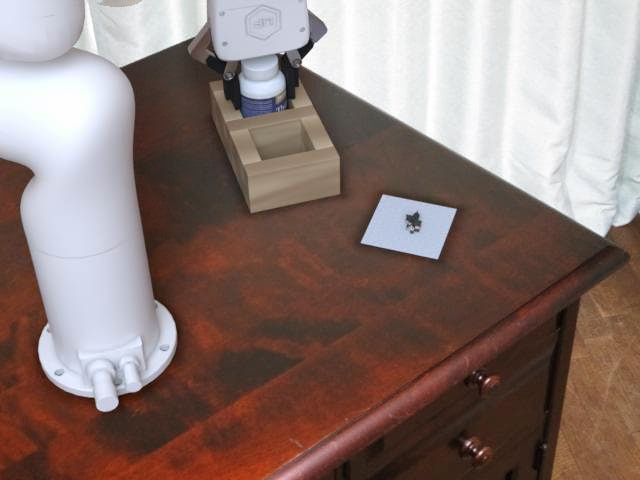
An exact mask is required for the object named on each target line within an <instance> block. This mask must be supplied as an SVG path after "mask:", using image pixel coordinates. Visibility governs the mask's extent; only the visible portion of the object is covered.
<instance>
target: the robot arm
mask: <svg viewBox="0 0 640 480" xmlns="http://www.w3.org/2000/svg"><path fill="white" fill-rule="evenodd" d="M85 2H86V1H85V0H0V158H1V159H2V160H5V161H9V162H12V163H16V164H18V165H23V166H25V167H26V168H28V169H29V170H30V171H32V173H33V174H34V175H33V176H32V178H31V179H29V182H28V183H27V185H26V186H25V188H24V190H23V192H22V195H21V197H20V204H19V205H20V206H19V207H20V209H19V210H20V211H19V212H20V219H21V223H22V227H23V232H24V235H25V238H26V241H27V246H28V249H29V253H30V257H31V261H32V265H33V268H34V272H35V276H36V280H37V285H38V289H39V292H40V295H41V300H42V303H43V307H44V311H45V315H46V319H47V322H46V325H44V327H43V329H42V331H41V334H40V337H39V340H38V348H37V352H38V359H39V363H40V365H41V368H42V371H43V372H44V374H45V376H46V377H47V379H48V380H49V381H50V382H51V383H53V384H54V385H55V386H56V387H58V389H59V388H60V389H61V390H63V391H64V392H66V393H69V394H72V395H75V396H79V397H84V398H89V399H90V398H93V399H94V402H95V407H96V409H97V410H98V411H100V412H103V413H107V412H111V411H113V410H115V409H116V408H117V407H118V406H119V396H122V395H125V394H129V393H137V392H139V391H140V390H141V389H142V388H143V387H145V386H146V385H148V384H149V383H151V382H154V381H155V380H156V379H157V378H158V377H159V376H160V375H161V374H162V373H164V371H166V369H167V368H168V367H169V365H170V364H171V362H172V360H173V358H174V356H175V355H176V352H177V351H176V350H177V347H178V332H177V326H176V322H175V320H174V317H173V315H172V314H171V313H170V311H169V310H168V308H167V307H166V306H164V305H163V304H162V303H161V302H160V301H158V300H157V299H155V296H154V291H153V283H152V278H151V272H150V266H149V259H148V254H147V248H146V243H145V242H146V241H145V235H144V230H143V225H142V224H143V223H142V217H141V212H140V206H139V200H138V195H137V188H136V186H137V185H136V179H135V170H134V169H135V168H134V133H135V120H136V100H135V92H134V89H133V86H132V83H131V82H130V80H129V78H128V76H127V75H126V74H125V72H124V71H123V70H122V69H121V68H120V67H119V66H117V65H116V64H115V63H113V62H112V61H111V60H109V59H107V58H106V57H103V56H101V55H99V54H96V53H93V52H91V51H88V50H86V49H81V48H77V47H74V46H75V45H76V44H77V43H78V41H79V40H80V38H81V35H82V33H83V30H84V24H85V19H86V4H85ZM327 33H328V27H327V26H326V24H325V22H324V21H323V20H322V19H320V18H319V17H318V16H317V15H316V14H315V13H313V11H311V10H310V9H309V8H308V1H307V0H206V22H205V24H204V25H203V26H202V27H201V29H200V30H199V31H198V33H197V34H196V35H195V37H194V38H193V39H192V41H191V42H190V43H189V45H188V46H187V51H188V54H189V56H190V57H191V59H193V60H195V61H197V62H199V63H201V64H203V65H205V66H207V68H209V69H210V70H212V71H214V72H215V73H217V74H218V75H220V76H221V77H222V78H221V80H223V90H224V95H225V98H226V100H231V101H232V104H233V106H234V108H235V110H239V109H240V108H242V105H241V92H240V81H239V78H238V76H239V74H237V73H238V72H237V71H236V70H237V68H238V63H239V61H241V60H245V59H251V58H256V57H262V56H267V55H272V54H276V55H277V54H278V55H279V54H281V53H283V54H281V57H279V58H280V59H279V60H280V69H281V72H282V73H283V74H284V76H285V80H286V95H287V97H288V99H295V87H299V79H300V68H299V67H301V66H302V65H303V60H304V58H306V56H307V55H308V54H309V53H310V52H311V51H312V49H313V48H314V46H315V44H316V43H319V41H321V39H322V38H323V37H324V36H325V35H327ZM211 44H212V47H213V50H214V51H213V50H209V49H208V47H209V46H210V45H211Z"/></svg>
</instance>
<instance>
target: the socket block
mask: <svg viewBox="0 0 640 480" xmlns="http://www.w3.org/2000/svg"><path fill="white" fill-rule="evenodd" d="M279 70H280V71H281V68H279ZM208 85H209V95H210V105H211V115H212V120H213V123H214V125H215V127H216V130H217V133H218V135H219V138H220V141H221V143H222V145H223V148H224V150H225V153H226V155H227V159H228V160H229V162H230V165H231V167H232V170H233V172H234V175H235V178H236V180H237V182H238V185H239V188H240V190H241V193H242V194H243V198H244V200H245V203H246V205H247V208H248V210H249V213H250V214H253V213H258V212H263V211H268V210H272V209H278V208H282V207H286V206H292V205H296V204H300V203H306V202H311V201H315V200H321V199H324V198H329V197H334V196H339V195H341V157H340V155H339V152H338V151H337V149H336V147H335V145H334V144H333V141H332V140H331V138H330V136H329V134H328V132H327V130H326V128H325V126H324V124H323V122H322V119H320V116H319V115H318V113H317V110H316V108H315V106H314V105H313V103H312V100H311V99H310V97H309V95H308V93H307V91H306V89H305V87H304V86H303V83H302V81H301V79H300V78H299V87H295V99H288V97H287V110H283V111H278V112H273V113H268V114H262V115H257V116H252V117H247V118H243V117H242V114H241V112H240V110H235V108H234V106H233V104H232V101H231V100H226V98H225V95H224V90H223V79H220V80H215V81H214V80H213V81H210V82H208Z"/></svg>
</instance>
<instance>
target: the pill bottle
mask: <svg viewBox="0 0 640 480" xmlns="http://www.w3.org/2000/svg"><path fill="white" fill-rule="evenodd" d="M279 69H280V67H279V57H278V55H277V54H272V55H267V56H262V57H256V58H251V59H245V60H240V71H241V72H239V74H238V78H239V81H240V92H241V105H242V108H240V109H239V110H240V112H241V114H242V117H243V118H247V117H252V116H257V115H262V114H268V113H273V112H278V111H283V110H287V95H286V80H285V76H284V74H283V73H282V72H281V71H280V70H279Z"/></svg>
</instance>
